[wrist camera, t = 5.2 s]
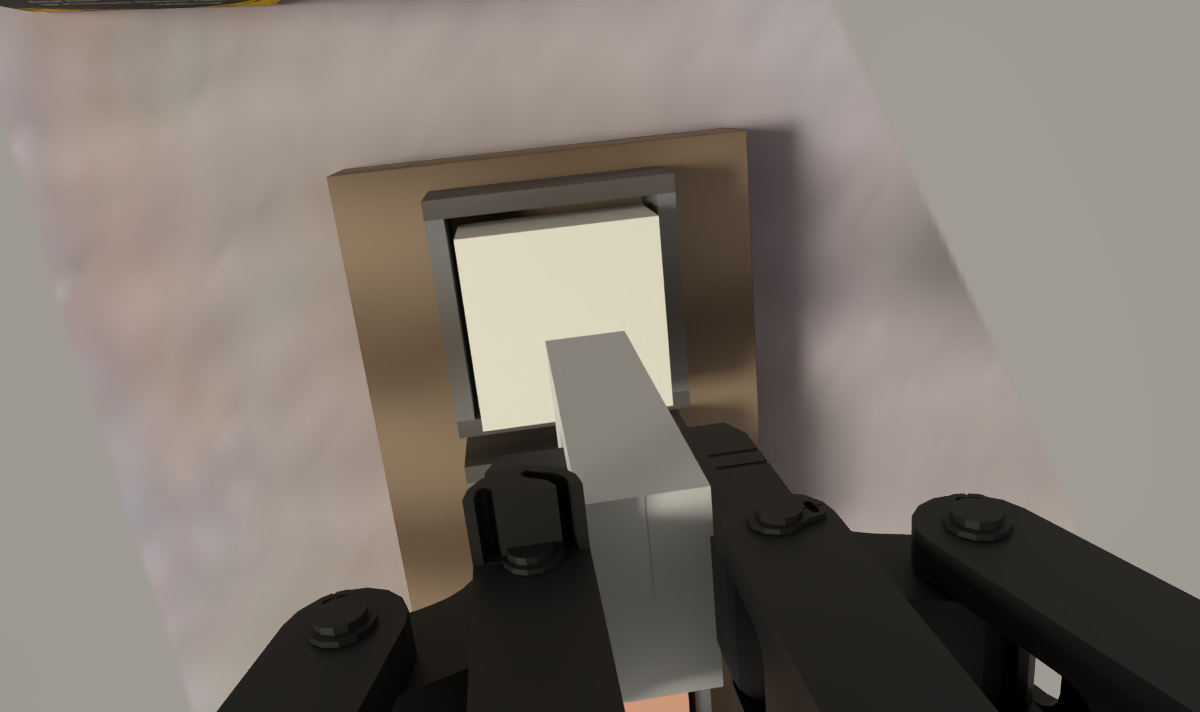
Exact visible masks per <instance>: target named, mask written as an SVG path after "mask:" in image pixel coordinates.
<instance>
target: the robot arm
mask: <svg viewBox="0 0 1200 712" xmlns="http://www.w3.org/2000/svg"><path fill="white" fill-rule="evenodd" d="M545 344H546V352H547V360H548V368H549V376H550V384H551V392H552V400H553V408H554V416H555V424H556V432H557V440H558V448H555V449H548V450H541V451H534V452H527V453H519V454H512V455H505V456H499V457H498V458H497V459H496V460H495V461H494V463H493V464H492V465H491V466H490V467H489V468H488V470H487V471H486V472H485V478H482V479H480V480H479V481H478V482H476V483H475V484H474V485H473V486H471V487H470V488H469V489H467V491H466V493H465V495H464V498H463V500H462V504H463V510H464V516H465V522H466V528H467V533H468V539H469V545H470V551H471V557H472V563H473V580H471V581H470V582H469V583H468V584H467V585H466V586H465V587H464V588H463V589H461V590H460V591H458V592H456V593H455V594H453V595H452V596H450V597H448V598H446V599H444V600H442V601H439V602H437V603H435V604H432V605H430V606H427V607H424V608H421V609H419V610H416V611H413V612H410V613H409V610H408V608H407V606H406V604H405V602H404V600H403V598H402V597H400V596H398V595H396V594H395V593H393V592H391V591H389V590H383V589H374V588H362V589H354V590H344V591H339V592H335V593H336V594H330V595H327V596H325V597H322V598H320V599H319V600H317V601H315V602H313V603H312V604H310V605H308V606H306V607H305V608H303V609H301V610H299V611H298V612H297V613H296V614H295V615H294V616H292V617H291V618H290V619H289V620H288V621H287V622H286V623H285V624H284V625H283V626H282V627H281V628H280V630H279V631H278V632H277V634H276V635H275V636H274V638H273V639H272V640H271V642H270V643H269V644H268V645H267V647H266V648H265V649H264V651H263V652H262V653H261V655H260V656H259V657H258V659H257V660H256V661H255V662H254V664H253V665H252V666H251V668H250V669H249V670H248V672H247V673H246V674H245V675H244V677H243V678H242V679H241V681H240V682H239V683H238V685H237V686H236V687H235V689H234V690H233V691H232V692H231V694H230V695H229V696H228V698H227V699H226V700H225V702H224V703H223V704H222V706H221V707H220V708H219V709H218V711H217V712H625V708H624V703H628V702H634V701H640V700H646V699H651V698H657V697H663V696H669V695H675V694H681V693H687V692H693V691H699V690H705V689H711V688H717V687H723V672H722V656H721V652H722V654H723V657H724V659H725V662H726V664H727V666H728V669H729V671H730V674H731V676H732V693H733V709H734V712H1200V600H1199V599H1198V598H1196V597H1193V596H1192V595H1190V594H1188V593H1186V592H1184V591H1182V590H1180V589H1178V588H1176V587H1174V586H1173V585H1170V584H1168V583H1167V582H1165V581H1163V580H1161V579H1159V578H1157V577H1155V576H1153V575H1151V574H1149V573H1148V572H1145V571H1144V570H1142V569H1140V568H1138V567H1136V566H1134V565H1132V564H1130V563H1128V562H1126V561H1124V560H1123V559H1121V558H1118V557H1117V556H1115V555H1113V554H1111V553H1109V552H1107V551H1105V550H1103V549H1101V548H1099V547H1097V546H1096V545H1094V544H1092V543H1090V542H1088V541H1086V540H1084V539H1082V538H1080V537H1078V536H1076V535H1075V534H1073V533H1071V532H1069V531H1067V530H1065V529H1063V528H1061V527H1059V526H1057V525H1055V524H1053V523H1051V522H1050V521H1048V520H1046V519H1044V518H1042V517H1040V516H1038V515H1036V514H1034V513H1032V512H1030V511H1028V510H1027V509H1025V508H1022V507H1020V506H1017V505H1014V504H1012V503H1009V502H1007V501H1004V500H1001V499H995V498H990V497H985V496H984V495H980V494H968V495H965V494H953V495H950V496H944V497H939V498H933V499H931V500H929V501H927V502H925V503H923V504H921V505H919V506H918V507H917V509H916V510H915V512H914V513H913V515H912V535H905V534H873V533H861V532H853V531H851V530H850V529H849V528H848V527H847V526H846V524H845V523H844V522H843V521H842V519H841V518H840V517H839V516H838V515H837V513H836V512H835V511H834V510H833V509H831V508H830V507H829V506H827V505H826V504H825V503H823V502H822V501H819V500H816V499H813V498H811V497H808V496H805V495H799V494H792V493H791V492H790V490H789V489H788V488H787V486H786V485H785V484H784V482H783V481H782V480H781V478H780V477H779V476H778V474H777V473H776V472H775V470H774V469H773V468H772V466H771V465H770V464H769V463H767V460H766V458H765V457H764V456H763V454H762V453H761V452H760V451H758V448H757V446H756V445H755V444H754V442H753V441H752V440H751V438H750V437H749V436H748V434H747V433H745V432H743V431H741V430H739V429H737V428H735V427H733V426H731V425H729V424H727V423H725V422H722V423H715V424H708V425H701V426H694V427H687V428H680V429H679V428H678V426H677V425H676V423H675V421H674V419H673V417H672V416H671V414H670V412H669V410H668V408H667V407H666V405H665V403H664V401H663V399H662V398H661V396H660V394H659V392H658V390H657V388H656V387H655V385H654V383H653V381H652V379H651V378H650V376H649V374H648V372H647V370H646V369H645V367H644V365H643V363H642V361H641V360H640V358H639V356H638V354H637V352H636V351H635V349H634V347H633V345H632V343H631V342H630V340H629V338H628V336H627V334H626V333H625V331H618V332H610V333H603V334H595V335H587V336H580V337H572V338H564V339H556V340H549V341H545ZM1036 658H1037V659H1039V660H1040V661H1041V662H1043V663H1044V664H1046V665H1047V666H1048V667H1050V668H1051V669H1053V670H1054V671H1055V672H1057V673H1059V674H1060V675H1061V676H1062V680H1061V691H1060V696H1059V699H1056V698H1054V697H1052V696H1050V695H1048V694H1046V693H1045V692H1044V691H1042V690H1041V689H1040V688H1039V687H1037V686H1036V685H1034V673H1035V659H1036Z"/></svg>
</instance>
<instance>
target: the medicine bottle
mask: <svg viewBox="0 0 1200 712" xmlns="http://www.w3.org/2000/svg"><path fill="white" fill-rule="evenodd" d="M279 1H280V0H0V6H3V7H8V8H14V9H19V10H24V11H30V12H55V11H90V10H124V9H159V8H193V7H228V6H262V5H274V4H277V3H279Z"/></svg>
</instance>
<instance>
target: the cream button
mask: <svg viewBox="0 0 1200 712" xmlns="http://www.w3.org/2000/svg"><path fill="white" fill-rule="evenodd" d="M454 246H455V252H456V259H457V265H458V272H459V278H460V285H461V291H462V298H463V304H464V311H465V317H466V324H467V330H468V337H469V343H470V350H471V356H472V363H473V369H474V375H475V382H476V388H477V395H478V401H479V408H480V414H481V421H482V427H483V432H484V431H492V430H499V429H506V428H513V427H521V426H528V425H535V424H543V423H550V422H555V416H554V408H553V400H552V392H551V384H550V376H549V368H548V360H547V352H546V344H545V341H549V340H556V339H564V338H572V337H580V336H587V335H595V334H603V333H610V332H618V331H625V333H626V334H627V336H628V338H629V340H630V342H631V343H632V345H633V347H634V349H635V351H636V352H637V354H638V356H639V358H640V360H641V361H642V363H643V365H644V367H645V369H646V370H647V372H648V374H649V376H650V378H651V379H652V381H653V383H654V385H655V387H656V388H657V390H658V392H659V394H660V396H661V398H662V399H663V401H664V403H665V405H666V406H673V397H672V384H671V371H670V358H669V345H668V332H667V319H666V305H665V292H664V279H663V266H662V253H661V240H660V227H659V216H658V215H657V214H655V213H654V212H653V211H651V210H650V209H649V208H647V207H646V206H644V205H643V204H642V203H641V204H633V205H624V206H615V207H607V208H598V209H590V210H581V211H572V212H564V213H555V214H547V215H538V216H529V217H521V218H512V219H504V220H495V221H486V222H478V223H469V224H461V225H458V227H457V230H456V234H455V237H454Z"/></svg>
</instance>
